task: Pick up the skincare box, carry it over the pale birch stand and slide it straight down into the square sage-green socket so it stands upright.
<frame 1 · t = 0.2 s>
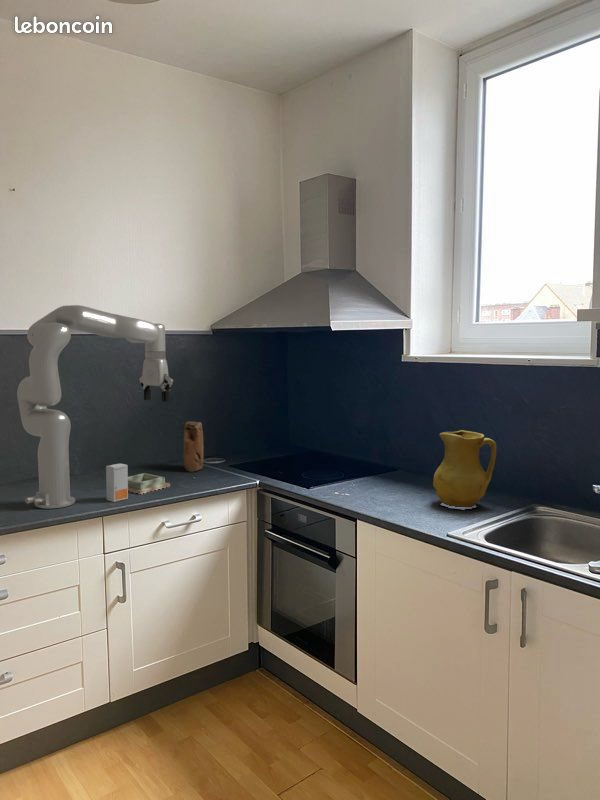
hand: (156, 400, 241), 31 cm above the worktop, tool pointing down, fingers open, 9 cm apart
socket stand: (142, 487, 231), on the worktop
pitcher: (461, 506, 209), on the worktop
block: (193, 470, 262), on the worktop
skincare box: (117, 500, 215), on the worktop
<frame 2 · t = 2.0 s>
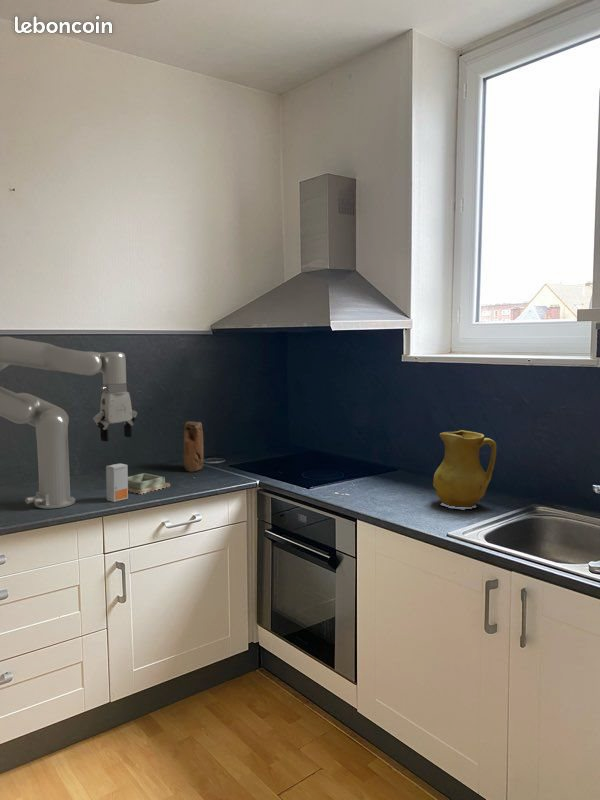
hand: (116, 438, 213), 21 cm above the worktop, tool pointing down, fingers open, 9 cm apart
nothing on the worktop moved.
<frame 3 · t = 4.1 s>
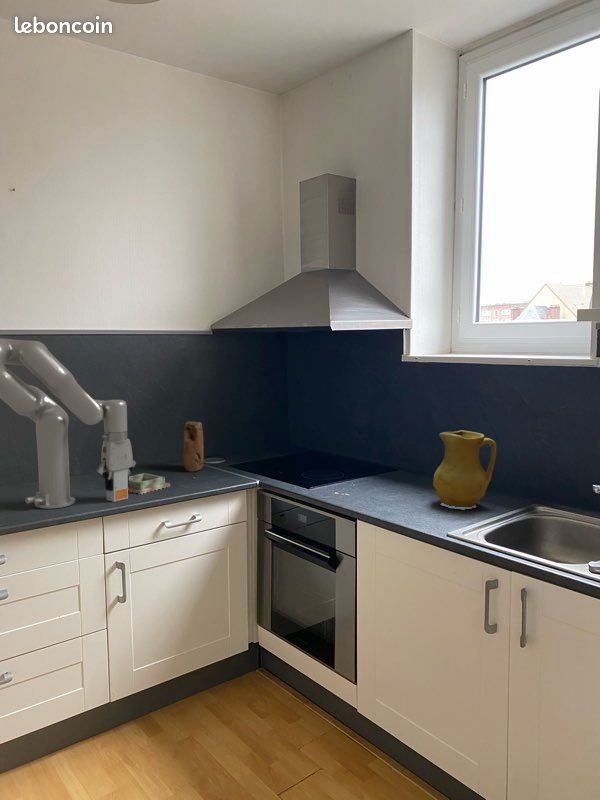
hand: (117, 487, 214), 4 cm above the worktop, tool pointing down, fingers closed on skincare box, 6 cm apart
skincare box: (117, 500, 215), on the worktop, touching gripper
everything else where it was.
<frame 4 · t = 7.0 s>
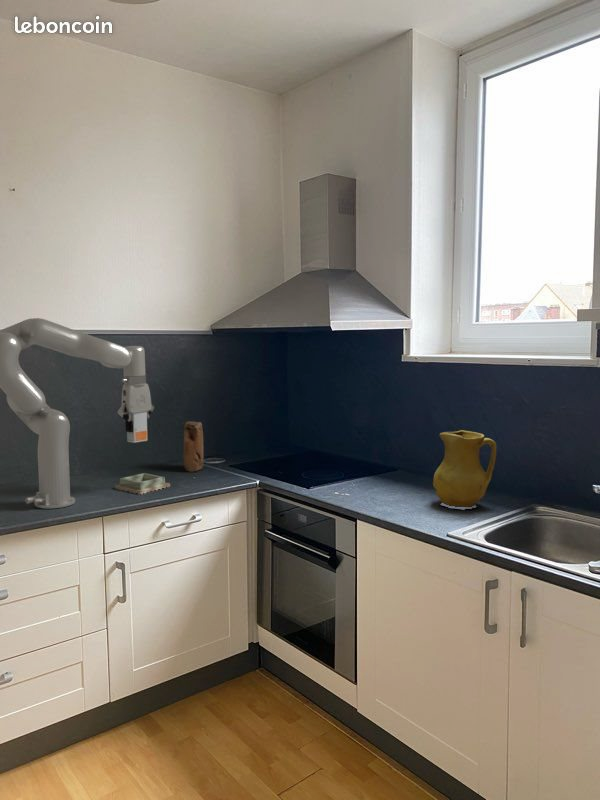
hand: (137, 430, 225), 22 cm above the worktop, tool pointing down, fingers closed on skincare box, 6 cm apart
skincare box: (137, 441, 226), point 18 cm above the worktop, touching gripper
everything else where it was.
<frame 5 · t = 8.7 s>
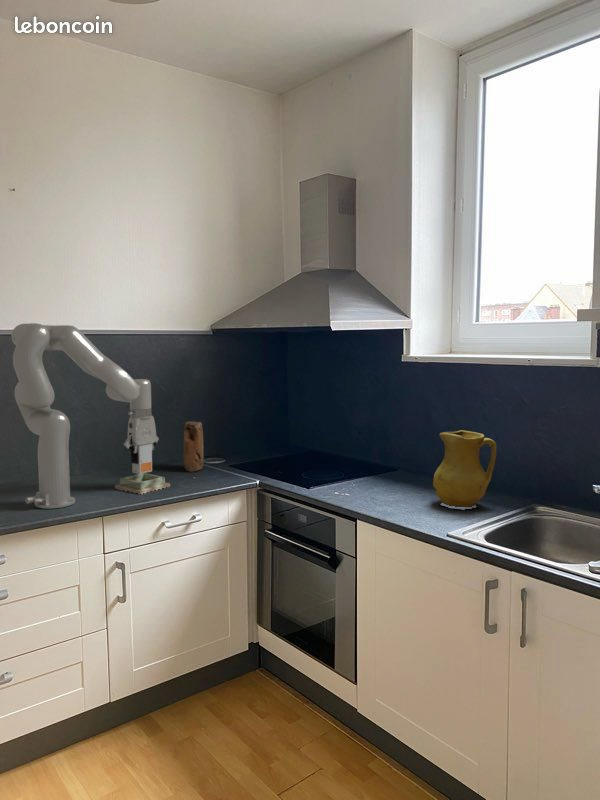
hand: (142, 461, 230), 10 cm above the worktop, tool pointing down, fingers closed on skincare box, 6 cm apart
skincare box: (142, 472, 231), point 6 cm above the worktop, touching gripper
everything else where it was.
when the fingers open (6 cm above the worktop, at t = 9.9 s): skincare box drops 1 cm, resting on socket stand.
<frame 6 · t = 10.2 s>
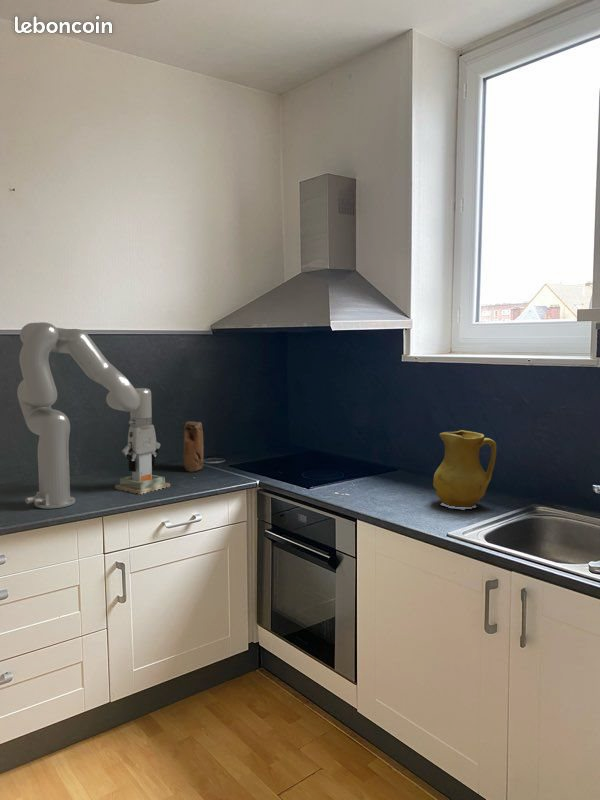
hand: (142, 468, 230), 7 cm above the worktop, tool pointing down, fingers open, 8 cm apart
skincare box: (142, 485, 231), point 1 cm above the worktop, touching socket stand
everything else where it was.
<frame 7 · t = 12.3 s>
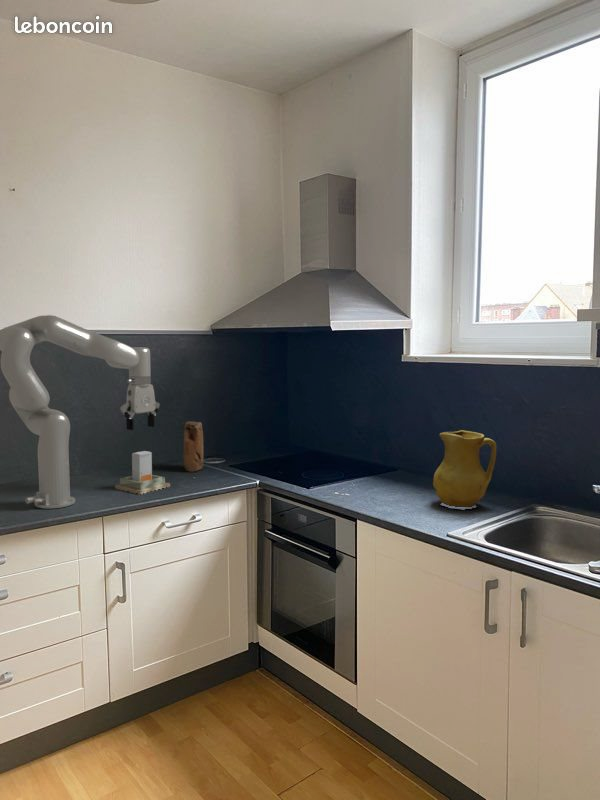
hand: (141, 428, 229), 22 cm above the worktop, tool pointing down, fingers open, 9 cm apart
nothing on the worktop moved.
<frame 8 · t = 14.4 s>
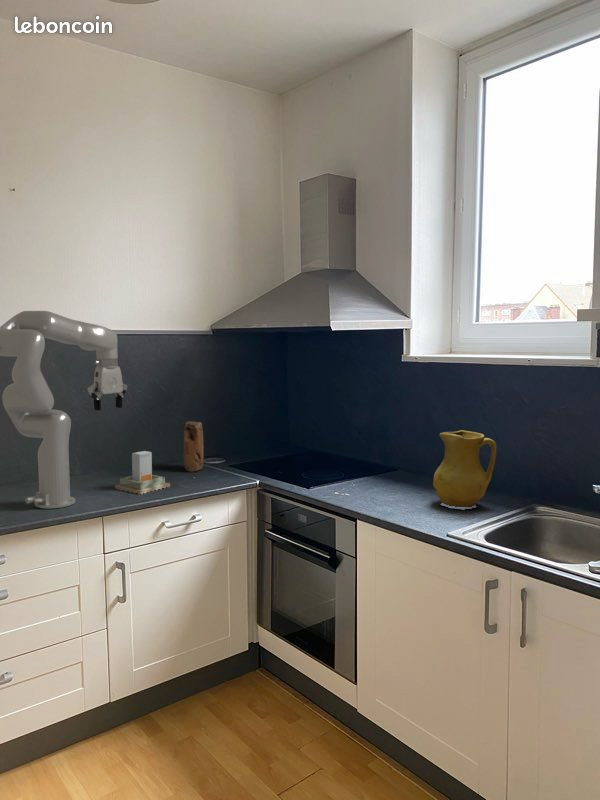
hand: (108, 408, 236), 28 cm above the worktop, tool pointing down, fingers open, 9 cm apart
nothing on the worktop moved.
at the end: skincare box 0.1 cm off-centre on the socket stand, point 1.0 cm above the socket stand's base; skincare box tilted 0°; the gripper is holding nothing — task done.
